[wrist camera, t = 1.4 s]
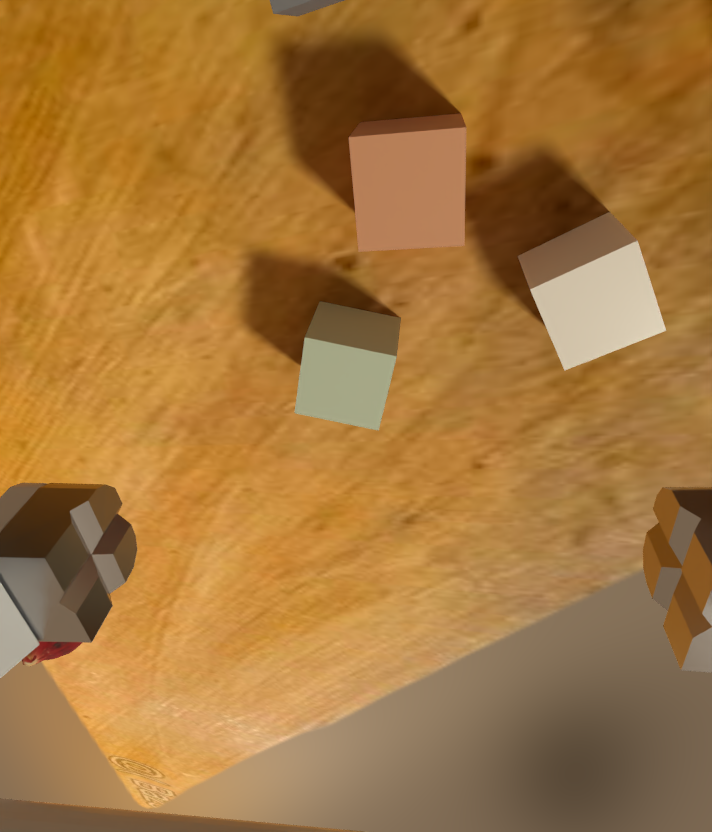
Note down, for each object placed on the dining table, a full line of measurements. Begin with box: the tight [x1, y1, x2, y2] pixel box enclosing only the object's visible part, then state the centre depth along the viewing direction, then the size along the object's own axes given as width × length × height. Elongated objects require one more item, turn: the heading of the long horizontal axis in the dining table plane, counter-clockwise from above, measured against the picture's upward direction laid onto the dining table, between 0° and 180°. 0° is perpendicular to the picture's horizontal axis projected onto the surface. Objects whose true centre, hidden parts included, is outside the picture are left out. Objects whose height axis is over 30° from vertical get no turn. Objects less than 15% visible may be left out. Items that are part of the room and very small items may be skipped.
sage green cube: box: [295, 301, 401, 430], centre depth 34 cm, size 5×5×5 cm
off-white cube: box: [518, 212, 666, 370], centre depth 30 cm, size 5×5×5 cm
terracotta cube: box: [349, 113, 466, 252], centre depth 28 cm, size 5×5×5 cm
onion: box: [22, 642, 82, 666], centre depth 50 cm, size 6×6×8 cm
